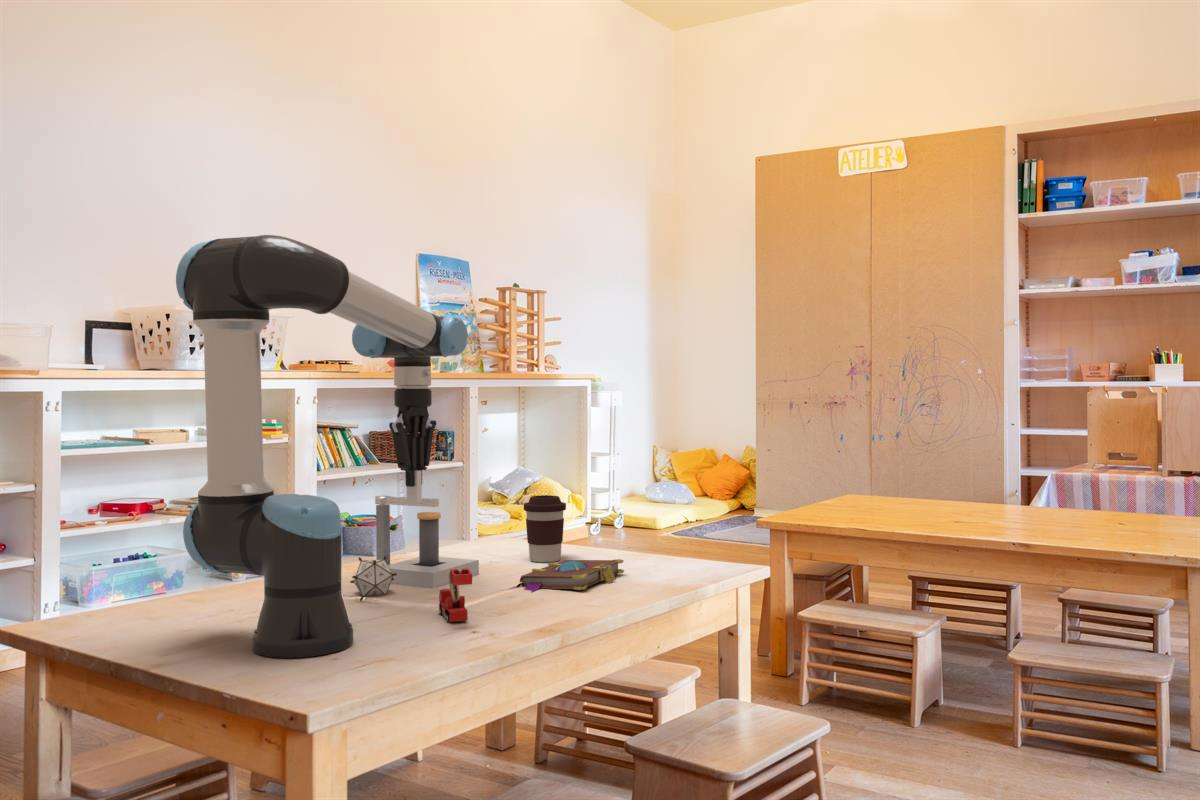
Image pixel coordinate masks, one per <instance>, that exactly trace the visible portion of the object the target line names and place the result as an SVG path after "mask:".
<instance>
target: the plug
mask: <svg viewBox="0 0 1200 800" xmlns="http://www.w3.org/2000/svg"><path fill="white" fill-rule="evenodd" d="M441 514H442V512H438V511H425V512H424V511H421V512H417V513H416V518H417V520H418V527H419V528H418V539H419V541H418V548H419V549H418V557H419V566H429V567H433V566H437V565H439V557H440V549H439V548H440V547H439V546H440V541H439V540H440V539H439V536H440V531H439V530H440V529H439V528H440V527H439V525H440V519H441Z"/></svg>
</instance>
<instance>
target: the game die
mask: <svg viewBox="0 0 1200 800" xmlns="http://www.w3.org/2000/svg"><path fill="white" fill-rule="evenodd" d="M385 559H386V556H384V559H378V560H377V559H366V560H365V559H364V560H363V559H362V558H361V557H358V560H359V561H360V562H359V565H358V567H357V571H356V572H355V575H352V576H351V578H352V579H354V580H350V583H351V584H354V585H355V586H356V589H357V590H358V593H360V594H359V595H361V597H360V599H359V601H360V602H361V601H363V600H364V598H366V597H369V596H381V595H382V596H383V595H387V594H388V591H389V590H390V586H391V584H390V583H391V581H393V580H394V578H393V576H396V575H397V574H396V573H394V574H393V573H392V571H391V570H390V568H389V566H388V565H387V563H386V561H385Z"/></svg>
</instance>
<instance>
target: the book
mask: <svg viewBox="0 0 1200 800" xmlns="http://www.w3.org/2000/svg"><path fill="white" fill-rule="evenodd" d="M624 561H625V560H623V559H621V558H619V559H618V558H617V559H609V560H608V559H603V560H602V559H601V560H600V559H564V560H561V561H559V562H558V561H557V563H556V562H547V566H545V567H542V568H531V572H527V573H525V574H522V575H521V577H520V579H519V582H520V583H519V584H520V586H521V588H524V589H523V590H525V591H530V593H531V594H532V593H535V592H536V591H538V590H539V589H553V590H554V589H558V590H575V591H581V590H582V591H583V590H586V589H587V588H588V587H590V586H593V585H595V584H597V583H601V582H603V581H604V583H605V584H612V583H613V582H615V580H617V578H616V575H618V574H623V573H625V570H624V569H622V568H619V564H623V562H624Z"/></svg>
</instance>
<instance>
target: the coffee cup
mask: <svg viewBox="0 0 1200 800" xmlns="http://www.w3.org/2000/svg"><path fill="white" fill-rule="evenodd" d="M566 510H567V503H566V502H563V501H561V498H560V496H559V495H551V494H549V495H548V494H547V495H546V494H545V495H544V494H543V495H533V496H530V497H529V500H528V502H525V503H523V511H525V512H526V518H525V525H526V526H525V527H526V538H527V544H528V551H529V555H528V556H529V560H530V561H531V562H534V563H545V564H548V563H556V562H558V561H559V562H560V560H561V558H562V556H561V555H562V543H563V541H564V526H565V523H564V521H565V519H564V512H565V511H566Z"/></svg>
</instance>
